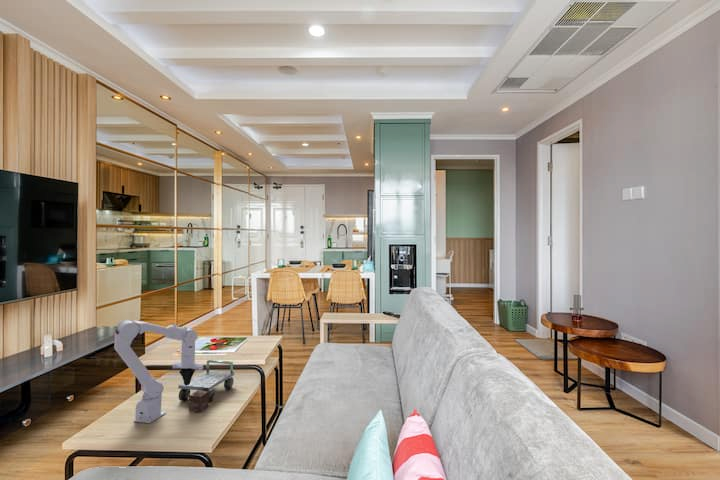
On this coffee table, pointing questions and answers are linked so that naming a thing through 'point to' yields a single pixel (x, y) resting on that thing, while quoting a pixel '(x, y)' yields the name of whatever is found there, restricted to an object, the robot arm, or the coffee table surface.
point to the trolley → (208, 381)
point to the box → (198, 401)
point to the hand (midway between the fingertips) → (187, 384)
